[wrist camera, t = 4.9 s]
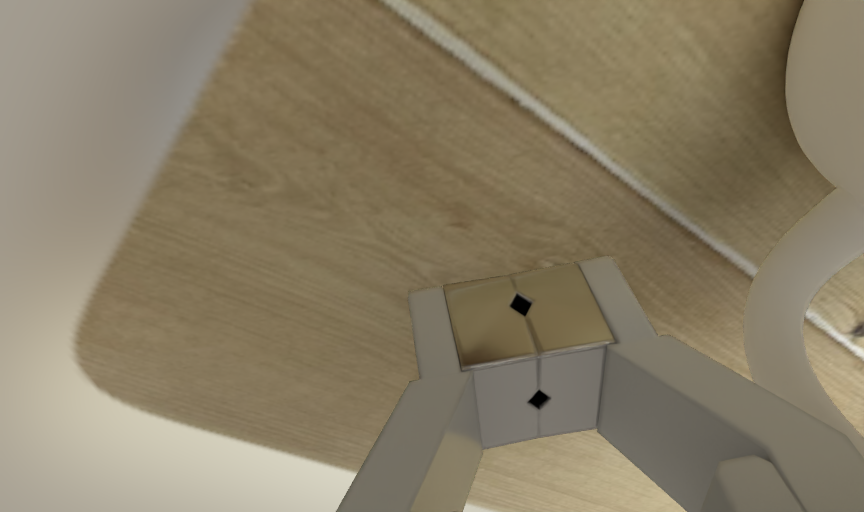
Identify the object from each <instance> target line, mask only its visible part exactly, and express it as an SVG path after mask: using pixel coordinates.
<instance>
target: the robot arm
mask: <svg viewBox="0 0 864 512" xmlns="http://www.w3.org/2000/svg"><path fill="white" fill-rule="evenodd" d="M408 303H409V310H410V316H411V323H412V330H413V337H414V344H415V351H416V358H417V364H418V371H419V378H420V380H415V381H410V382H409V383H408V385H407V387H406V388H405V390H404V392H403V394H402V395H401V397H400V399H399V401H398V403H397V404H396V406H395V408H394V410H393V411H392V413H391V415H390V417H389V418H388V420H387V422H386V424H385V426H384V427H383V429H382V431H381V433H380V434H379V436H378V438H377V440H376V442H375V443H374V445H373V447H372V449H371V450H370V452H369V454H368V456H367V457H366V459H365V461H364V463H363V465H362V466H361V468H360V470H359V472H358V473H357V475H356V477H355V479H354V481H353V482H352V484H351V486H350V488H349V489H348V491H347V493H346V495H345V496H344V498H343V500H342V502H341V504H340V505H339V507H338V509H337V511H336V512H463V509H464V506H465V503H466V500H467V498H468V495H469V492H470V489H471V486H472V483H473V481H474V478H475V475H476V472H477V469H478V466H479V463H480V461H481V458H482V455H483V450H484V449H489V448H493V447H498V446H503V445H507V444H512V443H517V442H522V441H526V440H531V439H536V438H541V437H547V436H554V435H560V434H566V433H572V432H579V431H585V430H591V429H598V430H597V432H598V433H600V434H601V435H602V436H603V437H604V438H605V439H606V440H607V441H609V442H610V443H611V444H612V445H613V446H614V447H615V448H616V449H618V450H619V451H620V452H621V453H622V454H623V455H624V456H625V457H626V458H628V459H629V460H630V461H631V462H632V463H633V464H634V465H635V466H637V467H638V468H639V469H640V470H641V471H642V472H643V473H644V474H646V475H647V476H648V477H649V478H650V479H651V480H652V481H653V482H655V483H656V484H657V485H658V486H659V487H660V488H661V489H662V490H664V491H665V492H666V493H667V494H668V495H669V496H670V497H671V498H672V499H674V500H675V501H676V502H677V503H678V504H679V505H680V506H681V507H683V508H684V509H685V510H686V511H687V512H864V458H863V456H862V455H861V454H860V452H859V451H858V450H857V449H856V447H855V446H854V445H853V443H852V442H851V441H850V439H849V438H848V437H847V436H846V435H845V434H843V433H842V432H840V431H838V430H836V429H834V428H833V427H831V426H829V425H827V424H826V423H824V422H822V421H820V420H819V419H817V418H815V417H813V416H812V415H810V414H808V413H806V412H805V411H803V410H801V409H799V408H798V407H796V406H794V405H792V404H791V403H789V402H787V401H785V400H784V399H782V398H780V397H778V396H777V395H775V394H773V393H771V392H769V391H768V390H766V389H764V388H762V387H761V386H759V385H757V384H755V383H754V382H752V381H750V380H748V379H747V378H745V377H743V376H741V375H740V374H738V373H736V372H734V371H733V370H731V369H729V368H727V367H726V366H724V365H722V364H720V363H719V362H717V361H715V360H713V359H712V358H710V357H708V356H706V355H704V354H703V353H701V352H699V351H697V350H696V349H694V348H692V347H690V346H689V345H687V344H685V343H683V342H682V341H680V340H678V339H676V338H675V337H673V336H671V335H662V336H658V334H657V333H656V331H655V329H654V328H653V326H652V324H651V322H650V321H649V319H648V317H647V316H646V314H645V312H644V310H643V309H642V307H641V305H640V304H639V302H638V300H637V298H636V297H635V295H634V293H633V292H632V290H631V288H630V286H629V285H628V283H627V281H626V280H625V278H624V276H623V274H622V273H621V271H620V269H619V268H618V266H617V264H616V262H615V261H614V259H612V258H611V257H609V256H603V257H597V258H592V259H587V260H582V261H577V262H574V263H567V264H562V265H557V266H551V267H546V268H541V269H535V270H530V271H525V272H519V273H514V274H509V275H504V276H498V277H491V278H485V279H478V280H472V281H465V282H459V283H452V284H446V285H443V288H442V286H439V287H432V288H425V289H418V290H411V291H408Z"/></svg>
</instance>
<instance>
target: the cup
mask: <svg viewBox="0 0 864 512" xmlns="http://www.w3.org/2000/svg"><path fill="white" fill-rule="evenodd" d="M785 94H786V104H787V111H788V115H789V119H790V123H791V126H792V129H793V132H794V134H795V137H796V139H797V141H798V144H799V145H800V147H801V149H802V150H803V152H804V154H805V155H806V156H807V158H808V159H809V160H810V161H811V162H812V164H813V165H814V166H815V167H816V169H817V170H818V171H819V172H820V173H821V174H822V175H823V176H824V177H825V178H826V179H827V180H828V181H829V182H830V183H831V184H833V185H834V186H835V187H836V189H835V190H833V191H832V192H831V193H830V194H829V195H827V196H826V197H825V198H824V199H823V200H821V201H820V202H819V203H818V204H817V205H816V206H814V207H813V208H812V209H811V210H810V211H809V212H808V213H806V214H805V215H804V216H803V217H802V218H801V219H800V220H799V221H798V222H797V223H796V224H795V225H794V226H793V227H792V228H791V229H790V230H789V231H788V232H787V233H786V234H785V235H784V236H783V237H782V238H781V239H780V240H779V241H778V243H777V244H776V245H775V246H774V247H773V249H772V250H771V251H770V253H769V254H768V255H767V257H766V258H765V260H764V261H763V263H762V264H761V266H760V268H759V270H758V272H757V273H756V275H755V277H754V279H753V282H752V285H751V287H750V290H749V293H748V296H747V300H746V305H745V309H744V317H743V341H744V348H745V353H746V358H747V363H748V366H749V369H750V372H751V375H752V378H753V381H754V383H755V384H757V385H759V386H761V387H762V388H764V389H766V390H768V391H769V392H771V393H773V394H775V395H777V396H778V397H780V398H782V399H784V400H785V401H787V402H789V403H791V404H792V405H794V406H796V407H798V408H799V409H801V410H803V411H805V412H806V413H808V414H810V415H812V416H813V417H815V418H817V419H819V420H820V421H822V422H824V423H826V424H827V425H829V426H831V427H833V428H834V429H836V430H838V431H840V432H842V433H843V434H845V435H846V436H847V437H848V438H849V439H850V441H851V442H852V443H853V445H854V446H855V447H856V449H857V450H858V451H859V452H860V454H861V455H862V456H863V458H864V437H863V436H862V435H861V434H860V433H859V432H858V431H857V430H856V429H855V428H854V427H853V426H852V425H851V423H850V422H849V421H848V420H847V419H846V418H845V417H844V415H843V414H842V413H841V412H840V410H839V409H838V408H837V407H836V406H835V404H834V403H833V402H832V400H831V399H830V397H829V396H828V395H827V393H826V392H825V390H824V388H823V387H822V385H821V384H820V382H819V380H818V378H817V376H816V374H815V372H814V370H813V368H812V366H811V363H810V361H809V358H808V356H807V352H806V348H805V344H804V337H803V323H804V318H805V314H806V311H807V309H808V306H809V304H810V302H811V301H812V299H813V297H814V296H815V294H816V293H817V292H818V291H819V289H820V288H821V287H822V286H823V285H824V284H825V283H826V282H827V281H828V280H829V279H830V278H831V277H832V276H833V275H835V274H836V273H837V272H838V271H839V270H841V269H842V268H843V267H845V266H846V265H847V264H849V263H850V262H852V261H853V260H854V259H856V258H857V257H859V256H860V255H862V254H863V253H864V0H804V2H803V5H802V7H801V10H800V12H799V15H798V18H797V21H796V24H795V27H794V31H793V34H792V38H791V43H790V47H789V52H788V59H787V67H786V88H785Z"/></svg>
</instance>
